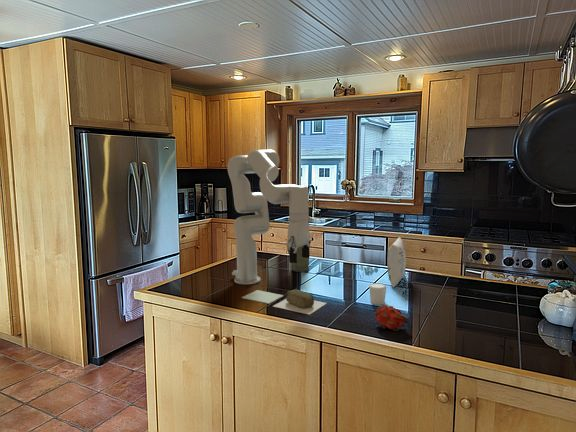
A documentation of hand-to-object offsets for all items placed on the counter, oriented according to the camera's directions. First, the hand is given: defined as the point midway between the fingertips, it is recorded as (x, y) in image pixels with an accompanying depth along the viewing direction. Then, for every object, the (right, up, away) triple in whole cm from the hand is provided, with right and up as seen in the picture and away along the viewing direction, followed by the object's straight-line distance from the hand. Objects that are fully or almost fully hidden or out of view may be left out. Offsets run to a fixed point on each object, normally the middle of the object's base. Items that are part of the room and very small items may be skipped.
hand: (299, 260), depth 164 cm
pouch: (+46, -14, +31) cm, 57 cm away
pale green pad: (-15, -17, +13) cm, 26 cm away
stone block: (0, -18, +3) cm, 19 cm away
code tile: (0, -18, +3) cm, 19 cm away
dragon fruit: (+31, -22, -20) cm, 43 cm away
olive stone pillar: (+2, -11, +54) cm, 55 cm away
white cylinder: (+32, -18, +5) cm, 37 cm away
